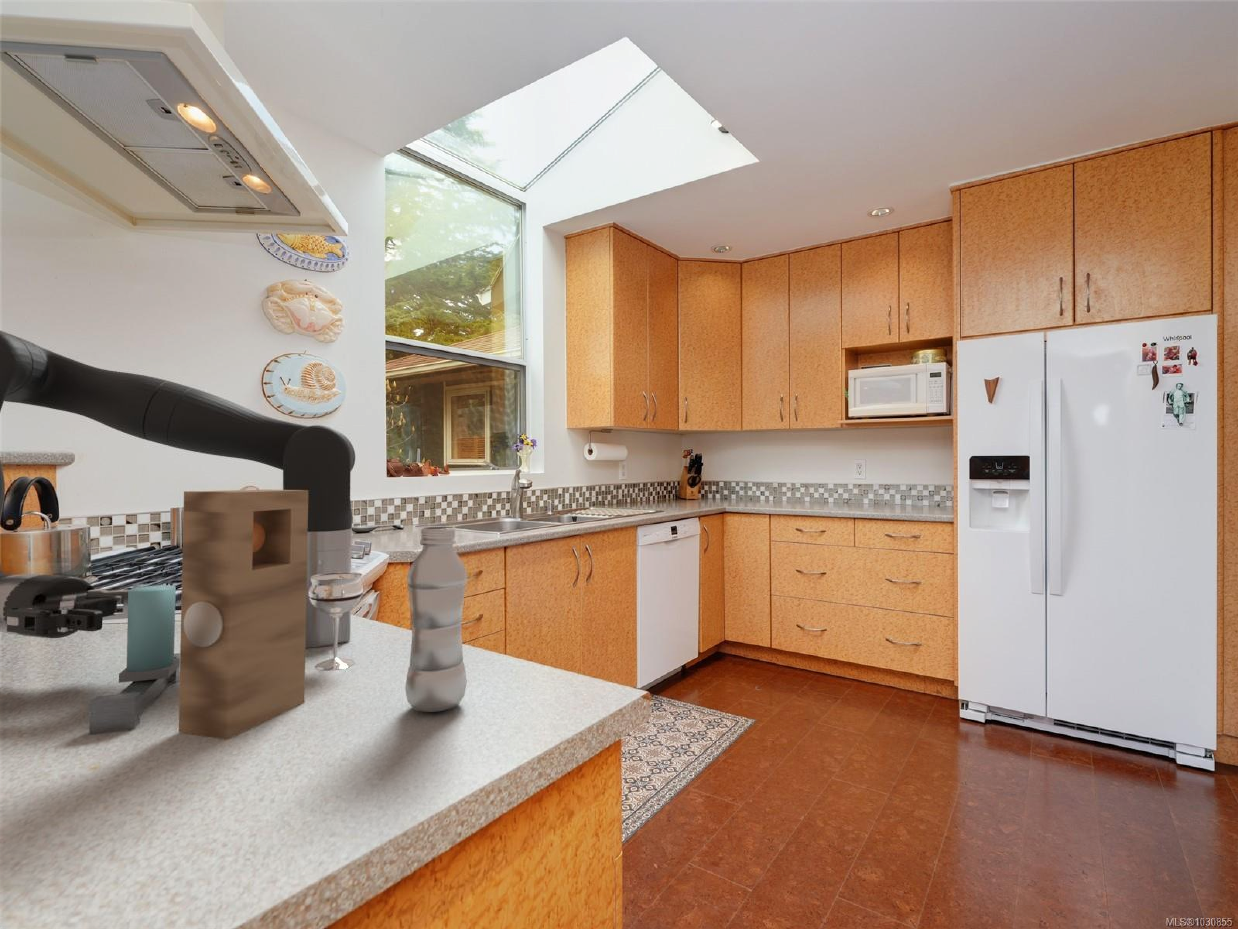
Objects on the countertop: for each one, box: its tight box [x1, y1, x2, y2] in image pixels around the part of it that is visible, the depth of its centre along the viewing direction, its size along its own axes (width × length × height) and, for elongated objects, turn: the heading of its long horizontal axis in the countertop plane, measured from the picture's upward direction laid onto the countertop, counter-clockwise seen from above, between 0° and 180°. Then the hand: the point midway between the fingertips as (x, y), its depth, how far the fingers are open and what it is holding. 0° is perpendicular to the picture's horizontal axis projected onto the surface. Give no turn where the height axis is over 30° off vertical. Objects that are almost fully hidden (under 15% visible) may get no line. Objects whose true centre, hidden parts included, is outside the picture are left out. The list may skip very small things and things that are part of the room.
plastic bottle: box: [404, 525, 468, 713], centre depth 67 cm, size 6×7×20 cm
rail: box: [88, 653, 180, 735], centre depth 68 cm, size 4×16×3 cm, turn 23°
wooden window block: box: [178, 489, 308, 740], centre depth 64 cm, size 6×10×24 cm, turn 166°
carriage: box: [118, 584, 180, 684], centre depth 71 cm, size 5×5×10 cm
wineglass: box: [309, 571, 364, 671], centre depth 82 cm, size 7×7×12 cm
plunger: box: [253, 523, 265, 553], centre depth 65 cm, size 7×3×3 cm, turn 76°
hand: (138, 612), depth 72 cm, fingers open, 8 cm apart
